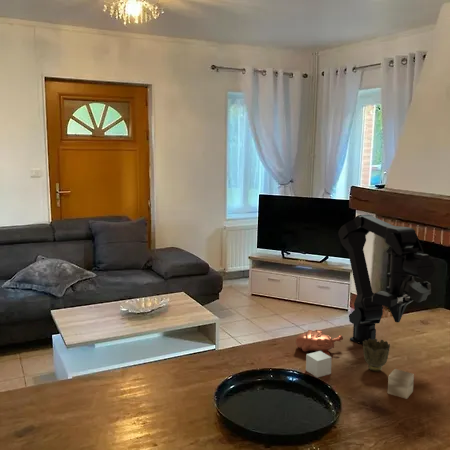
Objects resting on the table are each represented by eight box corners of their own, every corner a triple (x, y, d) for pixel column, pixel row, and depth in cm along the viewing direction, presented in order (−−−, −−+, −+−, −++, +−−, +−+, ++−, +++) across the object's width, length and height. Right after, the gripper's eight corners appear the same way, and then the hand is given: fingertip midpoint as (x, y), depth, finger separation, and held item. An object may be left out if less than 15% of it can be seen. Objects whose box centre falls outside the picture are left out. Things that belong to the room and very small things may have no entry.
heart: (304, 340, 149) (349, 336, 153) (288, 328, 160) (330, 325, 164) (304, 359, 149) (348, 355, 153) (288, 347, 161) (330, 343, 165)
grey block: (305, 370, 143) (306, 354, 142) (319, 367, 145) (320, 350, 144) (316, 377, 138) (317, 360, 137) (331, 374, 141) (331, 357, 140)
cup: (358, 371, 142) (360, 345, 140) (364, 361, 148) (365, 336, 147) (385, 377, 138) (387, 350, 137) (390, 367, 145) (392, 341, 143)
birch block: (387, 393, 130) (388, 375, 129) (393, 386, 134) (394, 368, 133) (406, 399, 127) (408, 381, 126) (412, 391, 131) (414, 373, 130)
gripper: (407, 282, 133) (403, 337, 135) (443, 271, 144) (439, 322, 147) (372, 273, 141) (369, 326, 144) (408, 264, 153) (405, 312, 155)
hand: (397, 322), depth 147 cm, fingers closed
